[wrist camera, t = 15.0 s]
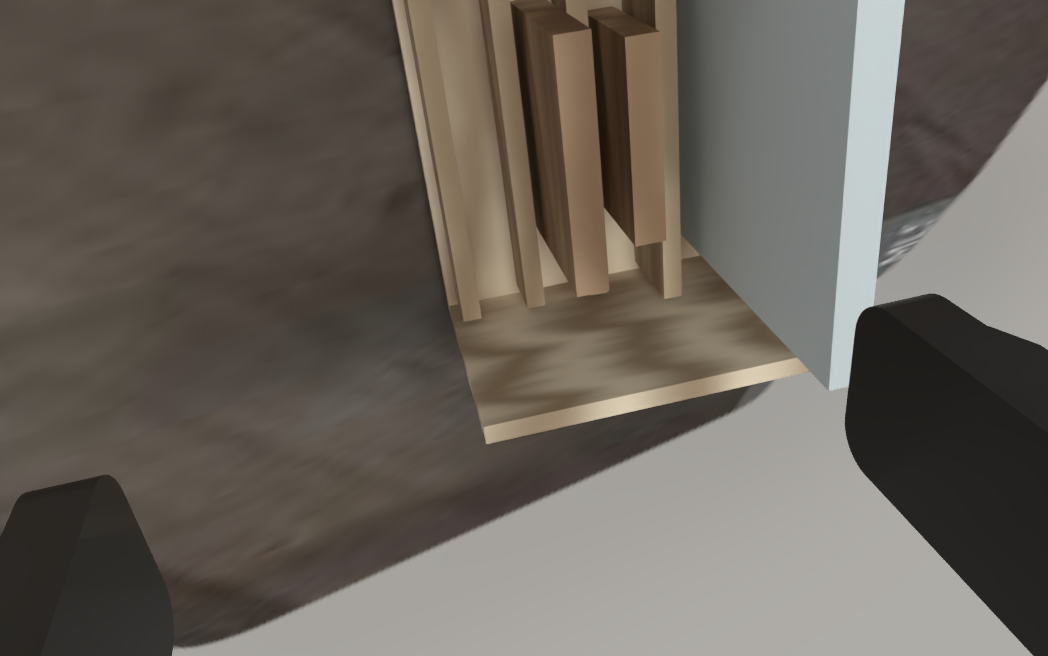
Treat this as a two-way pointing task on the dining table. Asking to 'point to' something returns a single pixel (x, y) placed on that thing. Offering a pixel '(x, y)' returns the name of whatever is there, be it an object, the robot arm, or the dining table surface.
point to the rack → (527, 263)
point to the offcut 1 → (562, 139)
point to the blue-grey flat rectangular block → (789, 159)
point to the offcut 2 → (630, 122)
